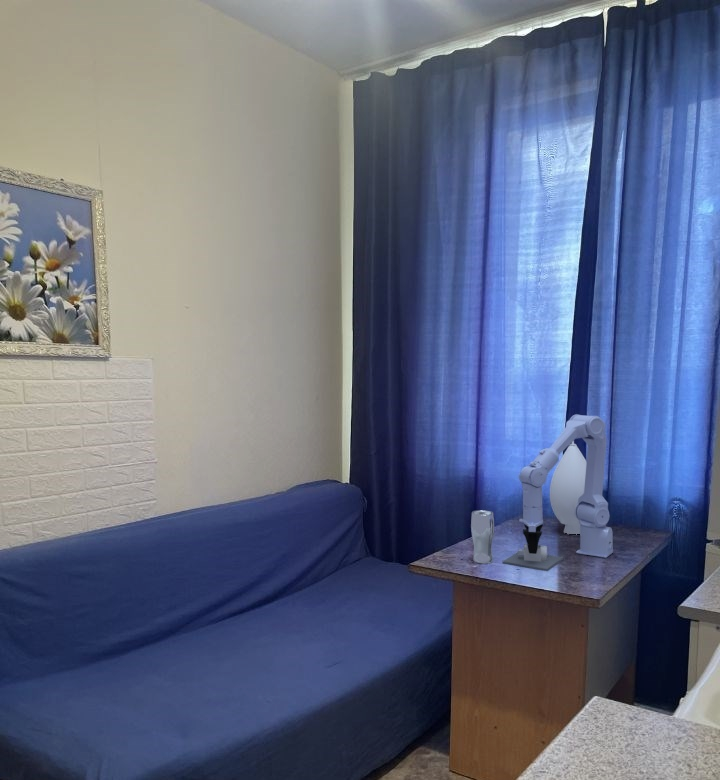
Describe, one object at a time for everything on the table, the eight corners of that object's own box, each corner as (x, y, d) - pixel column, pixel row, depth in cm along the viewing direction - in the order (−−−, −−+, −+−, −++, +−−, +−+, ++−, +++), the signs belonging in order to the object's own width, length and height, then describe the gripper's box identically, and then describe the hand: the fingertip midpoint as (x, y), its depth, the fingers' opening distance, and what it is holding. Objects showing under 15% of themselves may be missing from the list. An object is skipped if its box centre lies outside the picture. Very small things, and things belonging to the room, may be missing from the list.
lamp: (541, 532, 231) (540, 435, 230) (565, 525, 241) (564, 432, 240) (582, 541, 219) (582, 438, 218) (605, 532, 230) (604, 435, 229)
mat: (563, 559, 198) (563, 557, 198) (547, 571, 187) (547, 569, 187) (520, 552, 207) (520, 550, 207) (502, 563, 195) (502, 561, 195)
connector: (547, 558, 197) (547, 545, 197) (547, 561, 194) (546, 548, 194) (518, 556, 200) (518, 544, 200) (518, 559, 196) (517, 546, 196)
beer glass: (467, 559, 200) (466, 511, 200) (486, 556, 203) (486, 509, 202) (479, 565, 194) (478, 515, 193) (498, 562, 196) (498, 513, 196)
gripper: (520, 500, 204) (520, 542, 205) (518, 510, 191) (518, 555, 191) (543, 501, 202) (543, 544, 203) (542, 511, 189) (543, 557, 189)
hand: (533, 549), depth 197 cm, fingers open, 7 cm apart
